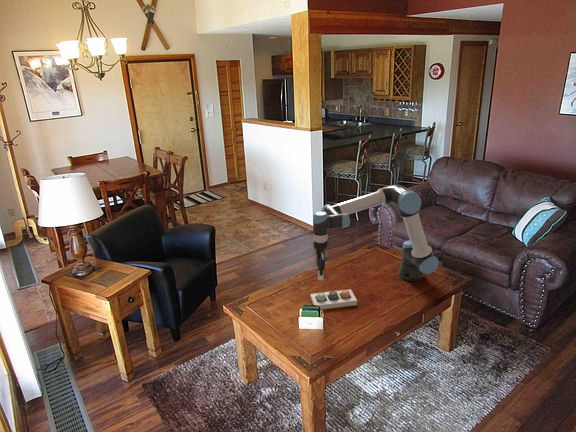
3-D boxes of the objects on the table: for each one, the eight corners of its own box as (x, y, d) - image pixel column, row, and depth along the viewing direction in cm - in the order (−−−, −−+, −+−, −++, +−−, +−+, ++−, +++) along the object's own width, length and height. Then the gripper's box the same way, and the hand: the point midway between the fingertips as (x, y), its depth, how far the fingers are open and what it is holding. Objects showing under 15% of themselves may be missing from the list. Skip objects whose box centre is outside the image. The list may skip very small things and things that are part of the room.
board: (350, 293, 235) (350, 289, 234) (357, 305, 224) (357, 300, 223) (310, 298, 232) (310, 294, 231) (314, 310, 221) (314, 305, 220)
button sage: (324, 296, 229) (324, 292, 228) (326, 301, 224) (326, 296, 223) (316, 297, 228) (316, 293, 227) (318, 302, 224) (317, 297, 223)
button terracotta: (348, 293, 231) (348, 289, 229) (350, 298, 226) (350, 293, 225) (340, 294, 230) (340, 290, 229) (342, 299, 225) (342, 294, 224)
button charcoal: (336, 295, 230) (336, 290, 229) (338, 299, 225) (338, 295, 224) (328, 296, 229) (328, 291, 228) (330, 300, 225) (330, 296, 223)
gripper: (311, 236, 219) (311, 274, 227) (316, 246, 207) (316, 286, 215) (324, 235, 220) (324, 273, 228) (330, 244, 208) (330, 284, 216)
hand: (320, 279), depth 222 cm, fingers closed
